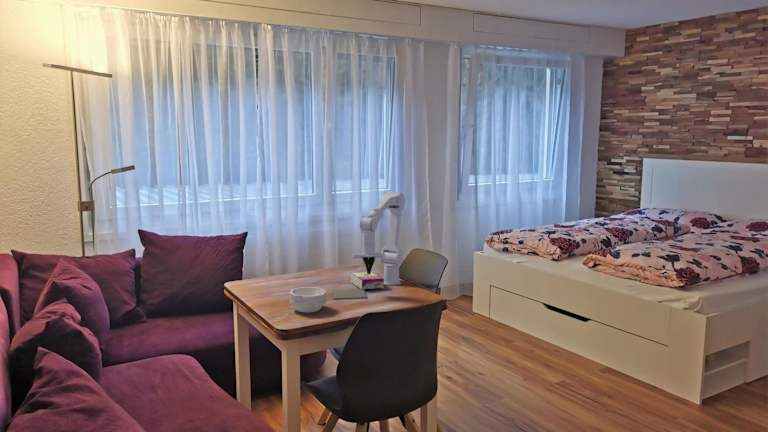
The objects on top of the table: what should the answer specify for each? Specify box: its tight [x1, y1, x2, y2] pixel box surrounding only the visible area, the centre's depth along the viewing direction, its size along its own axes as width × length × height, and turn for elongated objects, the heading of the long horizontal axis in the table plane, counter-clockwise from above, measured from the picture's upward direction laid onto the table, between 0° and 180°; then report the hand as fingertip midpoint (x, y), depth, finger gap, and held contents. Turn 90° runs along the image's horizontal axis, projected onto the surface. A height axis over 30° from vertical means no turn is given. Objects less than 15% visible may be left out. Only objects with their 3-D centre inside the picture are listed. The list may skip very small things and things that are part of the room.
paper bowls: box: [289, 286, 328, 314], centre depth 246 cm, size 15×15×8 cm
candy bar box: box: [350, 271, 385, 291], centre depth 283 cm, size 11×5×16 cm
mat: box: [332, 288, 368, 300], centre depth 269 cm, size 14×14×1 cm
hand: (368, 273), depth 268 cm, fingers closed
